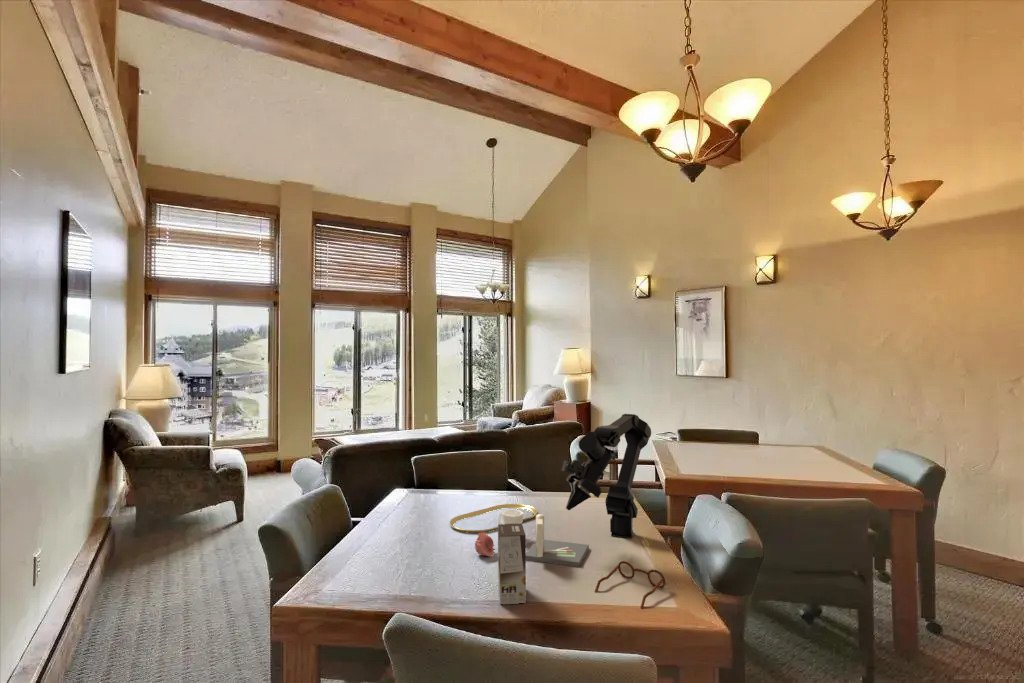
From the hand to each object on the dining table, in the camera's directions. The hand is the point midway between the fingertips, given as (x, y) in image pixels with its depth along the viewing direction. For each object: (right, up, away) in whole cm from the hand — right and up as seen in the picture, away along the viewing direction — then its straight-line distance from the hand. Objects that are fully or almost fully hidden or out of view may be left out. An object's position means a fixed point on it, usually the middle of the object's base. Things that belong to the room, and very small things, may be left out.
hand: (567, 509), depth 153 cm
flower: (-24, -13, -1) cm, 28 cm away
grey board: (-3, -13, -1) cm, 13 cm away
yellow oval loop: (-23, -14, +31) cm, 41 cm away
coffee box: (-17, -13, -27) cm, 34 cm away
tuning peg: (-4, -11, -5) cm, 13 cm away
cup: (-17, -14, +13) cm, 26 cm away
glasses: (+13, -13, -25) cm, 31 cm away
